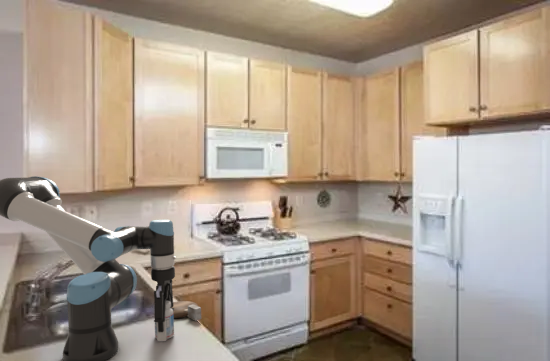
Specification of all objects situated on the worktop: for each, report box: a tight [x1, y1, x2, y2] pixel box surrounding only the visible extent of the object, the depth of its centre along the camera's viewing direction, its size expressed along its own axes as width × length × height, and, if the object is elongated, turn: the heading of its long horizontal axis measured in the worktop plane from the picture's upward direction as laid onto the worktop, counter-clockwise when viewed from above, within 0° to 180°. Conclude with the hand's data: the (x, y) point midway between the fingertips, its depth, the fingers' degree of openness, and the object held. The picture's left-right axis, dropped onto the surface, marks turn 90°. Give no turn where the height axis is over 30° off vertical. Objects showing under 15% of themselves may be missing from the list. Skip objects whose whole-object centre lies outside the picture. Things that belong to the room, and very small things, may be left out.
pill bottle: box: [153, 301, 175, 340], centre depth 126 cm, size 6×6×11 cm
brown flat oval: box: [172, 300, 202, 321], centre depth 145 cm, size 20×14×4 cm
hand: (165, 335), depth 126 cm, fingers open, 7 cm apart
